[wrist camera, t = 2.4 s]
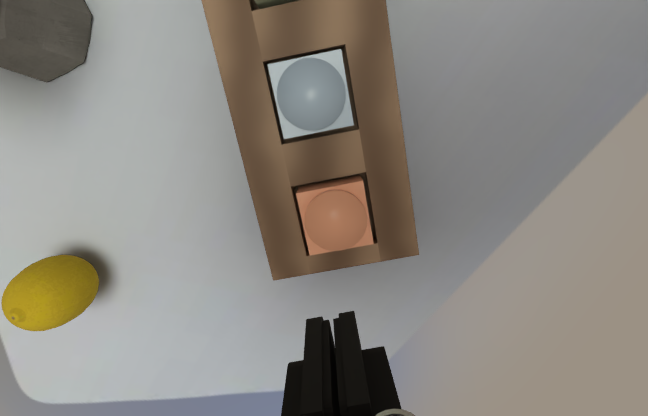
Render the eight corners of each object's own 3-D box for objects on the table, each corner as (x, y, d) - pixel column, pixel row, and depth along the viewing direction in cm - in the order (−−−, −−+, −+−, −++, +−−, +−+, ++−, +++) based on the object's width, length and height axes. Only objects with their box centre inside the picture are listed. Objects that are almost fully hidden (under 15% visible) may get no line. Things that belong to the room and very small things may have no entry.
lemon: (54, 239, 32) (-33, 279, 24) (115, 245, 32) (48, 287, 24) (60, 293, 33) (-20, 347, 25) (118, 298, 33) (56, 354, 26)
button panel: (358, -114, 25) (365, -156, 21) (407, 237, 32) (419, 254, 28) (196, -75, 25) (173, -110, 21) (279, 260, 32) (273, 280, 28)
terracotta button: (359, 174, 28) (364, 182, 25) (369, 233, 29) (374, 246, 26) (298, 186, 28) (295, 195, 25) (310, 243, 29) (309, 258, 26)
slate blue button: (339, 55, 25) (341, 47, 22) (351, 124, 26) (354, 125, 24) (272, 69, 25) (266, 63, 22) (287, 137, 27) (283, 139, 24)
